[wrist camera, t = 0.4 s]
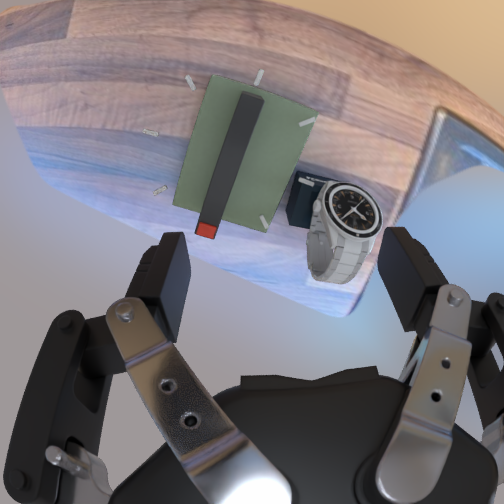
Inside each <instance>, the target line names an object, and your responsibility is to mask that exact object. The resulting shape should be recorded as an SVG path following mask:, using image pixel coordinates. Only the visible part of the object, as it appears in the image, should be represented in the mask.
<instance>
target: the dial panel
mask: <svg viewBox="0 0 504 504" xmlns="http://www.w3.org/2000/svg"><path fill="white" fill-rule="evenodd" d="M263 72H264V70H262V69H259V72H258V74H257V77H256V79H255V82H254V84H253V85H256V86H258V84H259V82H260V79H261V77H262V74H263ZM185 79H186V81H187V82H188V84H189V86H190V88H191V90H192V91H194V90H196V87H195V85H194V83H193V81H192V80H191V78H190V76H189V75H187V76H185ZM243 90H244V91H247V92H250V93H253V94H256V95H259V96H261V97H262V98H263V99H264V101H265V103H264V105H263V108H262V111H261V113H260V116H259V118H258V121H257V123H256V126H255V129H254V131H253V134H252V136H251V139H250V142H249V144H248V147H247V150H246V152H245V155H244V158H243V160H242V163H241V166H240V168H239V171H238V174H237V176H236V179H235V182H234V185H233V188H232V190H231V193H230V196H229V199H228V201H227V204H226V207H225V210H224V213H223V216H222V220H225V221H228V222H231V223H235V224H238V225H241V226H245V227H248V228H251V229H254V230H258V231H261V232H264V233H266V232H267V230H268V228H269V225H270V223H271V221H272V218H273V216H274V214H275V212H276V209H277V207H278V205H279V202H280V200H281V198H282V196H283V193H284V191H285V189H286V187H287V184H288V182H289V180H290V177H291V175H292V173H293V171H294V168H295V166H296V164H297V162H298V159H299V157H300V155H301V152H302V150H303V148H304V146H305V143H306V141H307V139H308V136H309V134H310V132H311V130H312V127H313V125H314V123H315V121H316V118H317V116H318V114H319V112H317V111H315V110H314V109H312V108H309V107H307V106H305V105H302V104H300V103H297V102H295V101H292V100H290V99H287V98H284V97H282V96H279V95H276V94H274V93H271V92H268V91H265V90H263V89H260V88H257V87H254V86H251V85H248V84H245V83H242V82H238V81H235V80H232V79H229V78H225V77H222V76H218V75H212V76H211V78H210V81H209V84H208V87H207V90H206V93H205V95H204V98H203V101H202V104H201V107H200V110H199V113H198V116H197V120H196V123H195V126H194V129H193V132H192V135H191V139H190V142H189V145H188V149H187V152H186V156H185V159H184V162H183V166H182V170H181V173H180V177H179V181H178V184H177V188H176V192H175V196H174V200H173V204H172V205H175V206H178V207H181V208H185V209H188V210H192V211H195V212H198V213H201V210H202V207H203V203H204V200H205V197H206V194H207V191H208V187H209V184H210V181H211V178H212V175H213V172H214V169H215V166H216V163H217V160H218V157H219V154H220V151H221V148H222V145H223V143H224V140H225V137H226V134H227V131H228V128H229V126H230V123H231V120H232V117H233V114H234V112H235V109H236V106H237V104H238V101H239V98H240V96H241V93H242V91H243ZM143 133H145V134H149V135H153V136H157V137H158V135H159V132H156V131H152V130H148V129H143ZM298 181H299V182H302V183H305V184H307V185H310V186H312V187H313V185H314V182H311V181H309V180H306V179H304V178H301V177H300V178H299V180H298ZM166 189H167V186H166V185H164V186H163V187H161V188H159V189H157V190H155V191H154V192H153V194H154V195H157V194H159V193H160V192H162V191H164V190H166Z"/></svg>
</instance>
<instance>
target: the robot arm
mask: <svg viewBox="0 0 504 504" xmlns="http://www.w3.org/2000/svg"><path fill="white" fill-rule="evenodd" d="M377 263H378V271H379V274H380V276H381V278H382V280H383V282H384V284H385V287H386V289H387V291H388V293H389V295H390V298H391V300H392V302H393V305H394V307H395V309H396V312H397V314H398V317H399V319H400V321H401V324H402V326H403V329H404V331H405V332H409V331H416V333H417V335H416V337H415V339H414V342H413V344H412V347H411V350H410V353H409V355H408V358H407V360H406V362H405V365H404V368H403V370H402V372H401V374H400V377H399V379H398V380H397V379H394V378H391V377H388V376H383V375H379V374H378V370H377V367H376V366H370V367H362V368H355V369H346V370H343V371H340V372H337V373H334V374H331V375H329V376H326V377H322V378H319V379H316V380H312V381H311V380H303V379H296V378H291V377H285V376H279V375H256V376H255V375H254V376H241V384H240V385H239V386H235V387H232V388H229V389H226V390H224V391H222V392H220V393H218V394H217V395H215V396H213V397H211V395H210V394H209V392H208V391H207V390H206V388H205V387H204V386H203V385H202V383H201V382H200V381H199V379H198V378H197V377H196V375H195V374H194V372H193V371H192V370H191V369H190V367H189V365H188V364H187V363H186V361H185V360H184V359H183V357H182V356H181V354H180V353H179V351H178V350H177V348H176V347H175V346H174V344H173V343H176V342H177V336H178V332H179V327H180V322H181V318H182V312H183V308H184V304H185V300H186V295H187V291H188V286H189V282H190V277H191V266H190V260H189V255H188V250H187V245H186V240H185V235H184V233H183V232H166V233H164V234H163V236H162V238H161V240H160V243H159V245H157V246H151V247H150V248H149V249H148V250H147V251H146V252H145V253H144V254H143V256H142V258H141V260H140V264H139V265H138V267H137V269H136V272H135V274H134V276H133V279H132V281H131V283H130V286H129V288H128V291H127V293H126V295H125V298H122V299H119V300H117V301H116V302H114V303H113V304H112V305H111V306H110V307H109V308H108V310H107V312H106V315H103V316H99V317H95V318H90V319H86V320H85V318H84V317H83V315H82V313H80V312H79V311H76V310H68V311H65V312H63V313H61V314H59V315H58V316H57V317H56V318H55V319H54V320H53V322H52V324H51V326H50V328H49V330H48V332H47V335H46V337H45V339H44V342H43V344H42V347H41V349H40V351H39V354H38V356H37V359H36V361H35V364H34V367H33V369H32V372H31V375H30V377H29V380H28V383H27V386H26V389H25V392H24V395H23V398H22V401H21V404H20V408H19V411H18V414H17V418H16V421H15V425H14V428H13V433H12V436H11V441H10V444H9V449H8V453H7V458H6V463H5V468H4V474H3V480H4V485H5V488H6V490H7V492H8V494H9V495H10V496H11V497H12V498H13V499H14V500H15V501H17V502H19V503H21V504H493V503H494V498H495V494H496V490H497V486H498V485H500V484H502V483H504V366H503V369H502V370H501V372H500V370H499V368H498V365H497V363H496V360H495V358H494V356H493V353H492V351H491V348H492V347H493V346H494V344H495V343H497V345H498V347H499V349H500V352H501V354H502V356H503V359H504V295H502V294H500V293H491V294H490V295H489V297H488V298H487V300H486V302H479V301H474V300H471V298H470V296H469V294H468V293H467V292H466V291H465V290H464V289H463V288H461V287H459V286H457V285H454V284H449V283H448V281H447V280H446V278H445V276H444V275H443V273H442V272H441V270H440V269H439V267H438V265H437V264H436V263H434V259H433V258H432V257H431V256H430V254H429V252H428V251H427V249H426V248H425V247H424V245H422V244H421V243H420V242H419V241H417V240H416V239H413V238H412V237H411V235H410V234H409V232H408V231H407V230H406V229H405V227H387V228H386V229H385V231H384V235H383V239H382V243H381V247H380V251H379V255H378V262H377ZM123 372H128V374H129V376H130V378H131V380H132V382H133V384H134V386H135V388H136V390H137V392H138V394H139V395H140V397H141V399H142V401H143V403H144V405H145V406H146V408H147V410H148V412H149V414H150V415H151V417H152V419H153V420H154V422H155V424H156V426H157V427H158V429H159V430H160V432H161V434H162V435H163V437H164V438H165V440H166V442H165V443H164V444H163V445H162V446H161V447H160V448H159V449H158V450H157V451H156V452H155V453H154V454H152V455H151V456H150V457H149V458H148V459H147V460H146V461H145V462H144V463H143V464H142V465H141V466H140V467H139V468H137V469H136V470H135V471H134V472H133V473H132V474H131V475H130V476H129V477H127V478H126V479H125V480H124V481H123V482H122V483H121V484H120V485H119V486H117V488H116V489H115V490H114V491H112V489H111V488H110V486H109V483H108V473H107V468H106V466H105V464H104V463H103V461H102V460H101V459H100V458H98V450H99V444H100V437H101V432H102V426H103V421H104V416H105V410H106V405H107V400H108V396H109V391H110V386H111V382H112V377H113V374H118V373H123ZM466 375H467V377H468V379H469V382H470V386H471V389H472V392H473V395H474V398H475V401H476V405H477V408H478V411H479V415H480V419H481V422H482V426H483V430H484V432H483V435H482V441H481V442H478V441H477V440H476V439H475V438H473V437H472V436H471V435H469V434H468V433H467V432H466V431H464V430H463V429H462V428H461V427H459V426H458V425H457V424H456V423H454V421H455V418H456V415H457V411H458V408H459V404H460V401H461V397H462V392H463V388H464V384H465V380H466Z"/></svg>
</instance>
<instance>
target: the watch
mask: <svg viewBox="0 0 504 504" xmlns="http://www.w3.org/2000/svg"><path fill="white" fill-rule="evenodd" d="M300 177H301V178H304V179H306V180H309V181H311V182H314V185H313V187H312V186H310V185H307V184H305V183H302V182H299V181H298V180H299V178H300ZM286 214H287V218H288V222H289V225H291V226H296V227H301V228H306V229H310V232H308V233H307V240H306V245H307V261H308V269H310V271H311V275H312V277H313V278H314V279H315V280H317V281H322V282H329V283H336V284H344V283H348V282H349V281H351V280H352V279H353V278H354V277H355V276H356V274H357V273H358V271H359V270H360V268H361V266H362V263H363V262H364V260H365V257H366V255H369V254H370V253H371V250H372V248H373V245H374V242H375V239H376V236H377V234H378V233H379V232H380V230H381V228H382V225H383V216H382V213H381V210H380V207H379V205H378V203H377V202H376V200H375V199H374V198H373V197H372V195H371V194H369V193H368V192H367V191H366V190H364V189H363V188H362V187H360V186H358V185H356V184H353V183H350V182H341V181H337V180H333V179H329V178H325V177H321V176H317V175H313V174H309V173H305V172H300V171H297V172H296V176H295V179H294V183H293V186H292V190H291V193H290V197H289V200H288V204H287V207H286ZM338 246H339V247H338ZM334 248H335V250H334V254H333V249H334ZM363 251H364V252H363Z"/></svg>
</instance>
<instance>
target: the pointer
mask: <svg viewBox="0 0 504 504" xmlns="http://www.w3.org/2000/svg"><path fill="white" fill-rule="evenodd" d="M264 103H265V101H264V99H263V98H262V97H261V96H259V95H256V94H253V93H250V92H247V91H244V90H243V91H242V93H241V96H240V98H239V101H238V104H237V106H236V109H235V112H234V114H233V117H232V120H231V123H230V126H229V128H228V131H227V134H226V137H225V140H224V143H223V145H222V148H221V151H220V154H219V157H218V160H217V163H216V166H215V169H214V172H213V175H212V178H211V181H210V184H209V187H208V191H207V194H206V197H205V200H204V203H203V207H202V210H201V213H200V216H199V220H198V223H197V226H196V230H195V234H196V235H200V236H203V237H206V238H210V239H215V236H216V233H217V230H218V227H219V224H220V221H221V219H222V216H223V213H224V210H225V207H226V204H227V201H228V199H229V196H230V193H231V190H232V188H233V185H234V182H235V179H236V176H237V174H238V171H239V168H240V166H241V163H242V160H243V158H244V155H245V152H246V150H247V147H248V144H249V142H250V139H251V136H252V134H253V131H254V129H255V126H256V123H257V121H258V118H259V116H260V113H261V111H262V108H263V105H264Z"/></svg>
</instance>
